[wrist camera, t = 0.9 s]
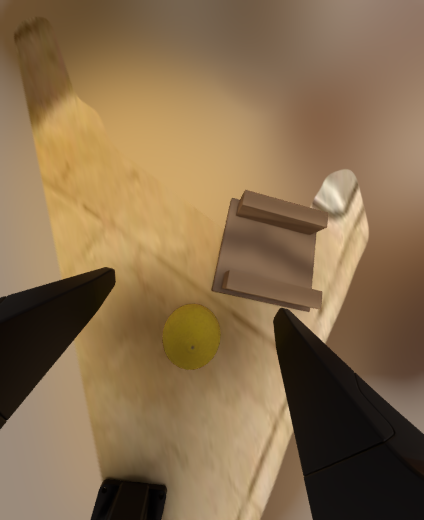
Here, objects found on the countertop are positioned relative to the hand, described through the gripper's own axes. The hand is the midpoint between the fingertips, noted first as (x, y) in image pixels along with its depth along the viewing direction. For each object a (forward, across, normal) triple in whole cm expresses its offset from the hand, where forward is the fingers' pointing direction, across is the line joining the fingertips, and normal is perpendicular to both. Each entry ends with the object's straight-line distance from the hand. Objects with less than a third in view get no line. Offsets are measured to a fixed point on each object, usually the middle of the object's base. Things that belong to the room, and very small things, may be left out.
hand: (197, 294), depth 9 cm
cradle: (+14, -8, +2) cm, 17 cm away
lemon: (+7, 0, +11) cm, 13 cm away
